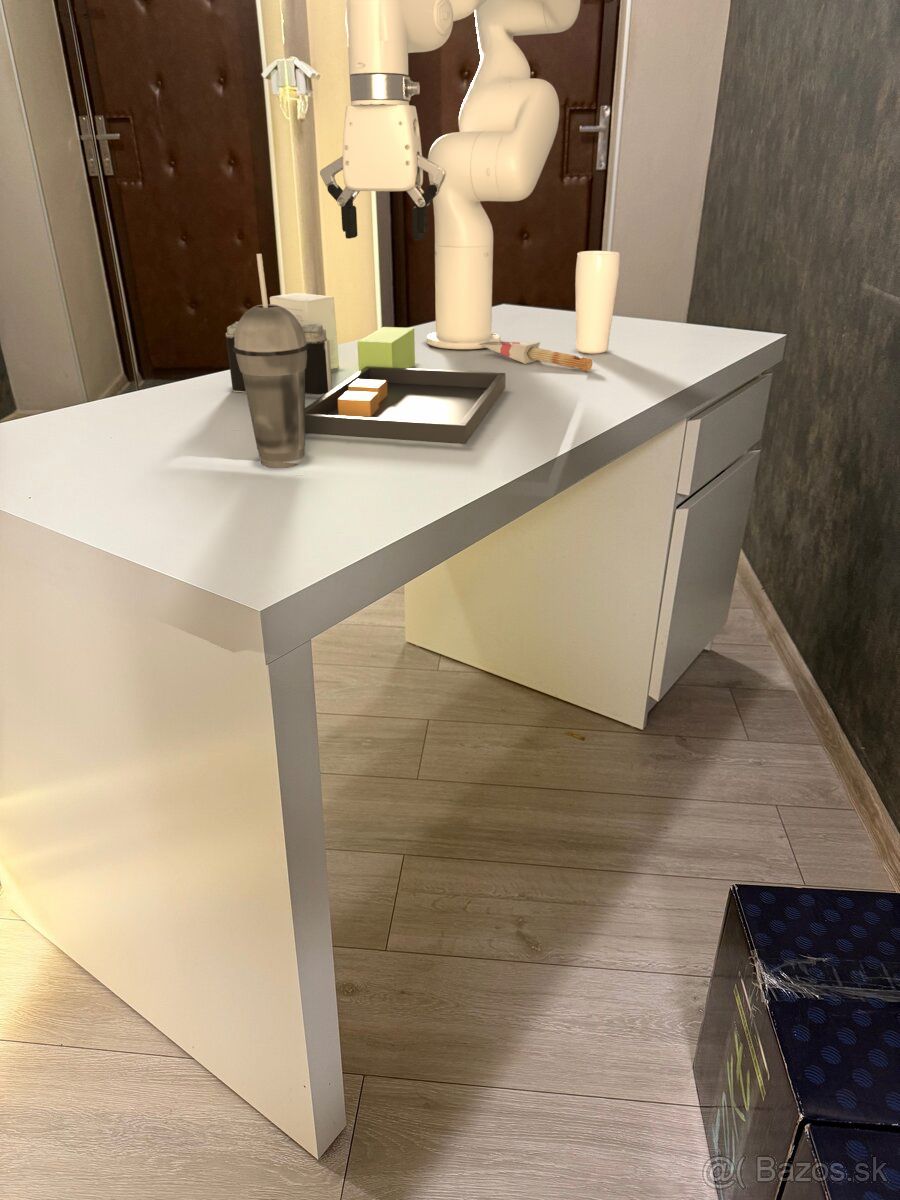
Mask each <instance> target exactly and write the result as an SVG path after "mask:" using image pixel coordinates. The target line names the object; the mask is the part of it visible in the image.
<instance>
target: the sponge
mask: <svg viewBox="0 0 900 1200" xmlns="http://www.w3.org/2000/svg"><path fill="white" fill-rule="evenodd" d="M415 344H416V343H415V327H397V326H395V327H394V326H382V327H380V328H378V329H377V330H375V331H373V332H372V333H370V334H368V335H367V336H364V337H363V338H361V339H360V340H358V341H357V359H358V360H357V361H358V372H359V371H360V370H362V369H363V368H365V367H366V366H372V367H392V368H413V367H415V365H416V349H415V348H416V347H415Z"/></svg>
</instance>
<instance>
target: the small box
mask: <svg viewBox="0 0 900 1200" xmlns="http://www.w3.org/2000/svg"><path fill="white" fill-rule="evenodd" d="M269 304H274V305H279V306H281V307H284V308H285V309H287V310H288V311H290V312H291V313H292V314H293V315H294V316H295V317H296V318H297V320H298V321H299V323H300V325H301V326H303V325H306V324H320V325H322V326H323V329H326V338H327V340H329V348H330V363H331V370H332V369H337V368H340V358H339V345H338V333H337V322H336V321H337V320H336V310H335V309H336V307H335V297H334V296H330V295H320V294H313V293H312V294H311V293H303V292H292V293H287V294H286V293H285V294H278V295H273V296H270V297H269Z"/></svg>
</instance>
